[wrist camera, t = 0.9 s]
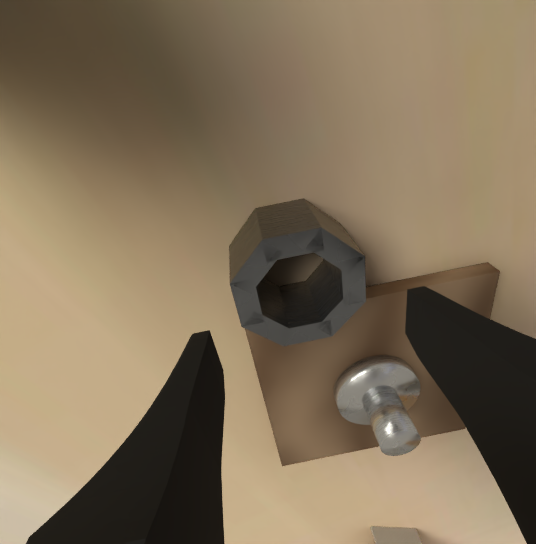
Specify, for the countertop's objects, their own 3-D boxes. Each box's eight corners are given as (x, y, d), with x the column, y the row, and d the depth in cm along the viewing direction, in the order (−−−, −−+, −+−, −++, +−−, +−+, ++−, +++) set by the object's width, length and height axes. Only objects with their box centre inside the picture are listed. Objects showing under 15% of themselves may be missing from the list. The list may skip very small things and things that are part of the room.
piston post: (415, 347, 20) (453, 403, 17) (410, 402, 23) (443, 460, 19) (330, 364, 20) (351, 424, 17) (335, 417, 23) (355, 478, 19)
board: (487, 262, 19) (500, 271, 18) (457, 417, 26) (465, 428, 25) (242, 312, 19) (243, 323, 18) (280, 453, 26) (282, 465, 25)
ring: (337, 191, 16) (364, 218, 13) (344, 288, 19) (366, 329, 16) (221, 215, 16) (219, 248, 13) (245, 308, 19) (249, 353, 16)
